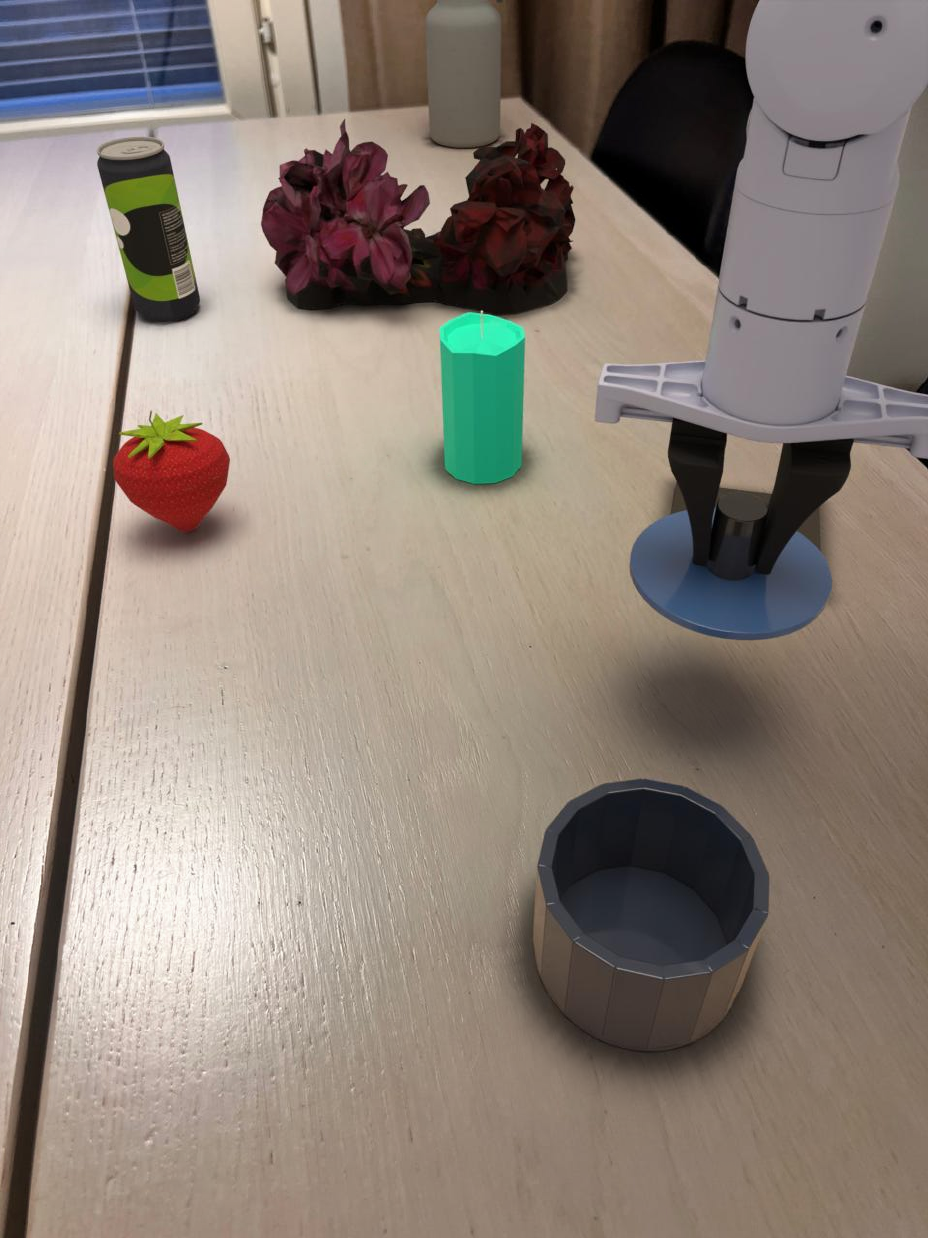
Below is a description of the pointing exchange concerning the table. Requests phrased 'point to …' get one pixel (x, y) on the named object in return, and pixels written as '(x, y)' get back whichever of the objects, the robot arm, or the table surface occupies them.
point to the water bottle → (464, 72)
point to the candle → (482, 397)
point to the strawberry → (172, 471)
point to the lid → (730, 575)
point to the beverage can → (149, 227)
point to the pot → (647, 912)
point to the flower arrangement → (407, 260)
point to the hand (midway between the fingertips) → (732, 557)
